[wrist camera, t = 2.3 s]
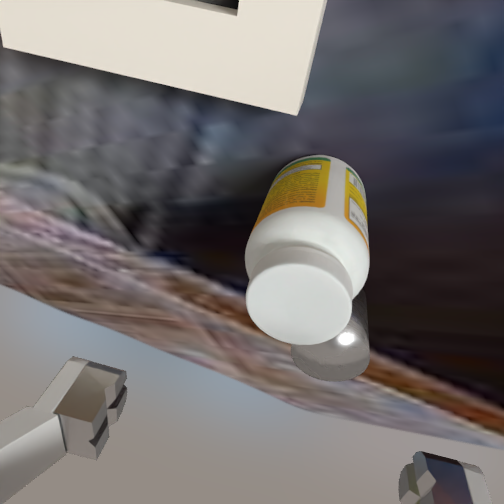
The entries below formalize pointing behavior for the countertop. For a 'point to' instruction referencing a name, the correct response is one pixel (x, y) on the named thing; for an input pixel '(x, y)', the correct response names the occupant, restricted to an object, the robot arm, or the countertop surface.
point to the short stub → (339, 349)
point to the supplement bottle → (308, 251)
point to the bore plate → (179, 43)
